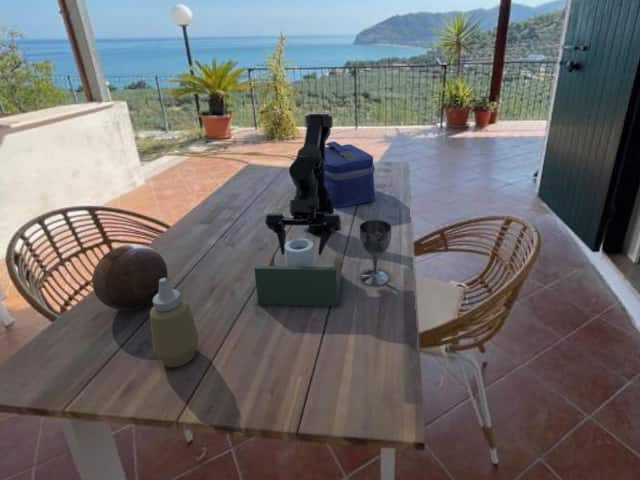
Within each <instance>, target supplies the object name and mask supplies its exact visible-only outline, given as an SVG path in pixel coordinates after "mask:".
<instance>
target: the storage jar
mask: <svg viewBox="0 0 640 480" xmlns="http://www.w3.org/2000/svg"><path fill="white" fill-rule="evenodd" d="M314 249H315V248H314V241H312V240H311V239H309V238H305V237H296V238H293V239H290V240H288V241H287V242H286V241H285V252H284V257H285V258H284V259H285V266H294V267H315V251H314Z"/></svg>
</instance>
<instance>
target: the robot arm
mask: <svg viewBox="0 0 640 480" xmlns="http://www.w3.org/2000/svg"><path fill="white" fill-rule="evenodd" d="M333 119H334V118H333V116H332V115H330V114H329V113H309V114H307V115H304V128H306V130H305V137H304V141H303V143H304V144H303V146H302V147H301V148H300V149H299V150H298V151H297V154H296V158H294V159H293V162H292V164H291V165H290V167H289V169H288V173H289V176H290V178H291V180H292V183H293V185H294V187H295V195H294V199H289V214H290V215H291V216H292V217H284V214H283V213H282V212H268V214H266V216H265V221H264V224H265V225H266V226H267V228H268V229H269V230H271V231H272V232H273V233H275V234H276V236H277V240H278V243H279V248H280V253H281V255H283V256H285V244H286V238H287V236H286V235H287V231H286V230H285V228H286V226H305V227H307V226H308V227H307V228H306V229H305V231H307V232H309V233H311V234H314V235H316V236H317V235H318V236H320V240H319V246H318V256H321V255H322V253H323V251H324V249H325V247H326V245H327V243H328V241H329V240H330V238H331V236H332V235H335V234H336V233H337V232H340V231H341V230H342V221H341V216H340V214H338V213H335V211H334V207H333V202H332V201H331V198H329V192H328V191H327V189H326V187H325V147H326V144H327V143H326V142H327V141H328V139H329V137H330V136H331V131H332V130H331V129H332V128H334V127H333V125H334V124H333V123H334V121H333Z"/></svg>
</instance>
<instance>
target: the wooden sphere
mask: <svg viewBox="0 0 640 480" xmlns="http://www.w3.org/2000/svg"><path fill="white" fill-rule="evenodd" d="M161 278H166V279H167V280H168V267H167V263H166V262H165V259H164V258H163V257H162V255H161V254H160V253H159V252H158V251H156V250H155V249H154V248H151V247H150V246H147V245H143V244H138V243H131V244H123V245H121V246H118V247H115V248H113V249H111V250H109V251H108V252H107V253H105V254H104V255H103V256H102V257H101V258H100V260H99V261H98V262H97V264H96V265H95V267H94V269H93V272H92V277H91V282H92V283H91V284H92V289H93V291H94V294H95V296H96V297H97V298H98V300H99V301H100V302H101V303H102V304H104V305H105V306H106V307H109V308H111V309H114V310H118V311H135V310H138V309H141V308H144V307H146V306H148V305H150V304H151V303H153V298H154V297H155V296H156V295H157V294H158V293H159V280H160V279H161Z"/></svg>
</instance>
